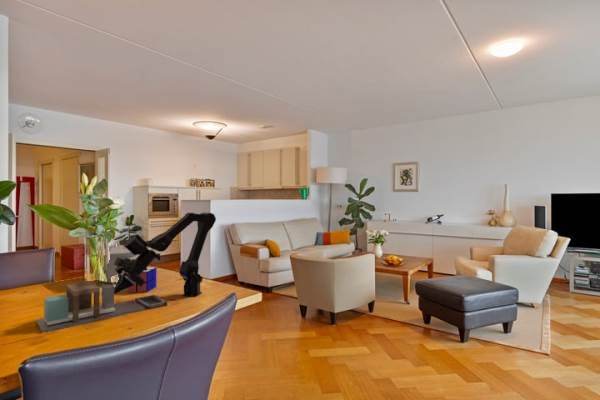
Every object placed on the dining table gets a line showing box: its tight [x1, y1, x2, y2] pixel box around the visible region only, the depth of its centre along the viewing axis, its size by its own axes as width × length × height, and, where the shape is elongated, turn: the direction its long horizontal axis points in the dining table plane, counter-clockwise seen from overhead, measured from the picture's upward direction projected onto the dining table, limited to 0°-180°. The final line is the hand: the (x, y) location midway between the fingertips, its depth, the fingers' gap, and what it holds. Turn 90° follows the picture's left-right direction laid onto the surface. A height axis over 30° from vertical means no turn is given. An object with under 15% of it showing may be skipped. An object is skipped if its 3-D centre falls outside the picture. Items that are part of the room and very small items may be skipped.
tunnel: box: [65, 281, 101, 323], centre depth 124 cm, size 8×12×11 cm, turn 46°
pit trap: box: [134, 294, 168, 311], centre depth 142 cm, size 8×14×2 cm, turn 46°
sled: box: [43, 283, 115, 325], centre depth 124 cm, size 21×7×9 cm, turn 136°
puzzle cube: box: [126, 266, 158, 293], centre depth 163 cm, size 10×10×10 cm
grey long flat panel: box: [35, 300, 146, 334], centre depth 126 cm, size 33×13×1 cm, turn 136°
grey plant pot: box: [105, 241, 140, 284], centre depth 180 cm, size 28×28×21 cm
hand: (112, 293), depth 131 cm, fingers closed, pressing on sled
